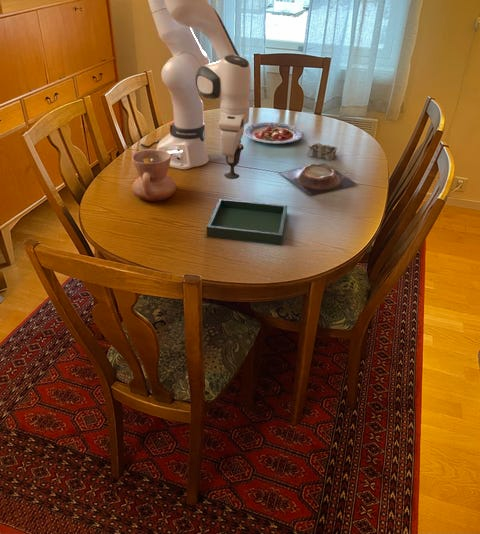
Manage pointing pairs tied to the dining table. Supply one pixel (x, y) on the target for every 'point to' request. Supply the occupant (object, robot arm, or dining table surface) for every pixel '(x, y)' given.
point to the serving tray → (248, 221)
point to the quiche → (318, 178)
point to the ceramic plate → (273, 132)
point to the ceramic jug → (153, 175)
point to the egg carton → (322, 151)
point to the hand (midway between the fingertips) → (232, 158)
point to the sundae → (234, 163)
